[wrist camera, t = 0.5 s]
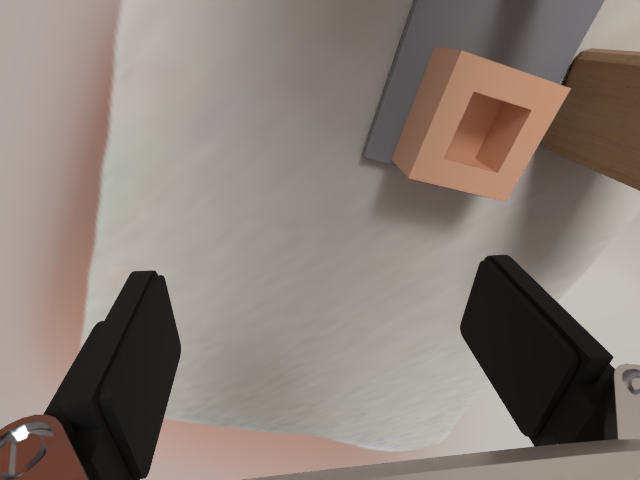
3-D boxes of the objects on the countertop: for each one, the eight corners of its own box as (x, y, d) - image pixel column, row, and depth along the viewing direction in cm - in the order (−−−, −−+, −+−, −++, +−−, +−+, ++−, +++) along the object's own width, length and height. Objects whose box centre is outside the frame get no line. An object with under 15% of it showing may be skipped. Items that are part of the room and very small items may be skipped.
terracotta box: (434, 46, 33) (461, 50, 28) (531, 80, 36) (571, 88, 31) (391, 159, 38) (408, 178, 34) (479, 181, 41) (506, 201, 36)
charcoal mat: (475, -182, 26) (482, -188, 26) (646, -91, 31) (656, -95, 30) (361, 154, 39) (363, 157, 38) (494, 187, 43) (498, 190, 42)
